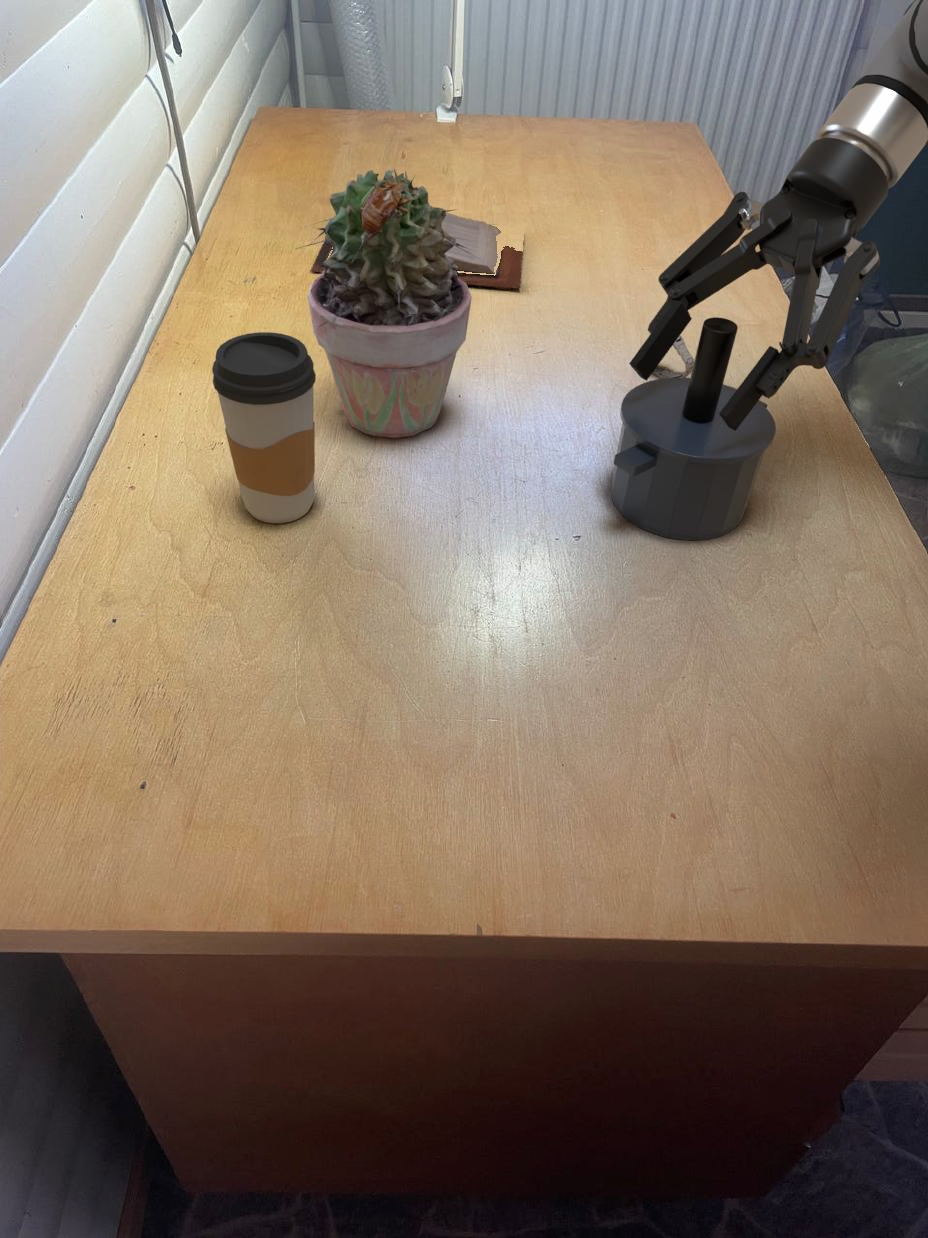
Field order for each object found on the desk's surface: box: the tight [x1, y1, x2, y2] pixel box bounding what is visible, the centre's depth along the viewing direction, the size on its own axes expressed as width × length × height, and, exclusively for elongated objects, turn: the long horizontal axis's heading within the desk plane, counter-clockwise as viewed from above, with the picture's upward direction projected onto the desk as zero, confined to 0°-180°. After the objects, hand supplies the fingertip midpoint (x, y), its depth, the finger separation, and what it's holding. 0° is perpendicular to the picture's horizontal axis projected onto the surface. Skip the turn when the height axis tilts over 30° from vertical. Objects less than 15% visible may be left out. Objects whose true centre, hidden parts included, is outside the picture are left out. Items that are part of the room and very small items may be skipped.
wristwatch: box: [651, 335, 695, 379], centre depth 103 cm, size 4×6×5 cm, turn 44°
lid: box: [619, 316, 777, 464], centre depth 78 cm, size 14×14×10 cm
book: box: [309, 212, 525, 291], centre depth 125 cm, size 20×28×4 cm
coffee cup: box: [211, 331, 317, 524], centre depth 79 cm, size 8×8×15 cm
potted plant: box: [295, 168, 481, 439], centre depth 88 cm, size 18×20×25 cm
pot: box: [610, 399, 768, 541], centre depth 84 cm, size 13×18×8 cm
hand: (681, 396), depth 77 cm, fingers open, 9 cm apart
